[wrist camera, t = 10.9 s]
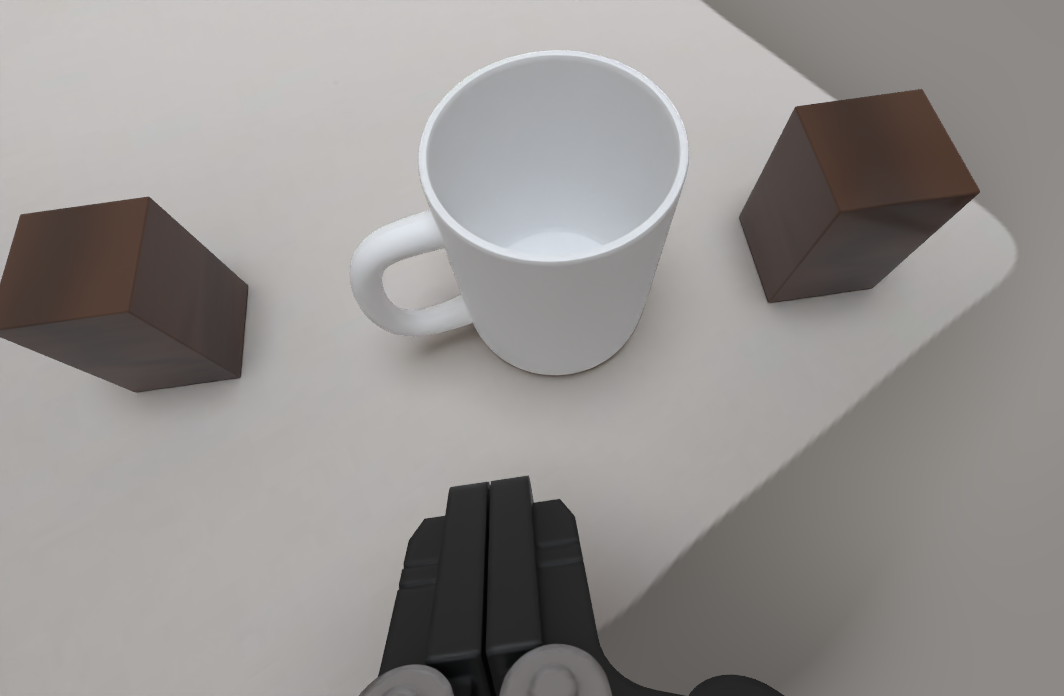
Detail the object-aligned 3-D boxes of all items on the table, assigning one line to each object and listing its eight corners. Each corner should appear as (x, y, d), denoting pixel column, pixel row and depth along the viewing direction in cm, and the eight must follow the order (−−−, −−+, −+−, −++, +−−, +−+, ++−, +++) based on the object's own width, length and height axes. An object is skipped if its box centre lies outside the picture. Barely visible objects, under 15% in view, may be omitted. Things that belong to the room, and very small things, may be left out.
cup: (672, 340, 24) (742, 200, 15) (427, 439, 23) (336, 354, 14) (597, 205, 28) (616, 20, 18) (376, 287, 26) (275, 133, 17)
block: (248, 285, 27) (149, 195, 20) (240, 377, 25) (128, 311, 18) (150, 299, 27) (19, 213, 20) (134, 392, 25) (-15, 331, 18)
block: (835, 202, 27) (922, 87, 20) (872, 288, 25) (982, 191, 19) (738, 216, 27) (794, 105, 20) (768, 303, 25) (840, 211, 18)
